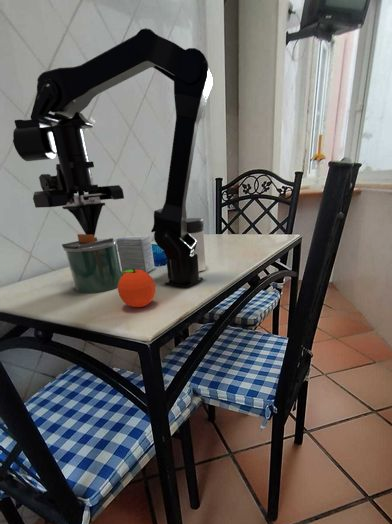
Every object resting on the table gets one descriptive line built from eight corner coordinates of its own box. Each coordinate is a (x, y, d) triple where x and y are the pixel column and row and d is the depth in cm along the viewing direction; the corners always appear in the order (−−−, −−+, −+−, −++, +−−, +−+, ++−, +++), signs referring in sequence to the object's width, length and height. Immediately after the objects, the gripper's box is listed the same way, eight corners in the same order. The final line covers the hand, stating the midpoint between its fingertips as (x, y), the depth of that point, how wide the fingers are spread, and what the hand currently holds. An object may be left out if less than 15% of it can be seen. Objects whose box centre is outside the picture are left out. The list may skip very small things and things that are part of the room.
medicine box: (155, 269, 84) (150, 235, 80) (146, 273, 81) (141, 238, 77) (131, 268, 87) (125, 235, 83) (121, 272, 84) (115, 238, 80)
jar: (183, 275, 76) (179, 223, 71) (167, 270, 83) (162, 221, 77) (213, 268, 81) (211, 218, 75) (195, 263, 87) (192, 217, 81)
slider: (96, 244, 68) (94, 234, 67) (76, 248, 65) (73, 238, 64) (83, 243, 71) (80, 233, 70) (62, 247, 67) (60, 237, 66)
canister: (134, 281, 75) (126, 237, 70) (95, 296, 67) (83, 247, 62) (103, 276, 82) (94, 235, 77) (64, 289, 74) (51, 244, 69)
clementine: (109, 312, 58) (101, 274, 55) (126, 299, 64) (120, 264, 60) (149, 313, 56) (143, 274, 52) (163, 300, 62) (158, 264, 58)
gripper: (87, 160, 73) (101, 231, 81) (7, 161, 60) (32, 244, 68) (119, 155, 67) (131, 232, 74) (37, 155, 54) (62, 247, 62)
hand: (91, 238), depth 70 cm, fingers closed
